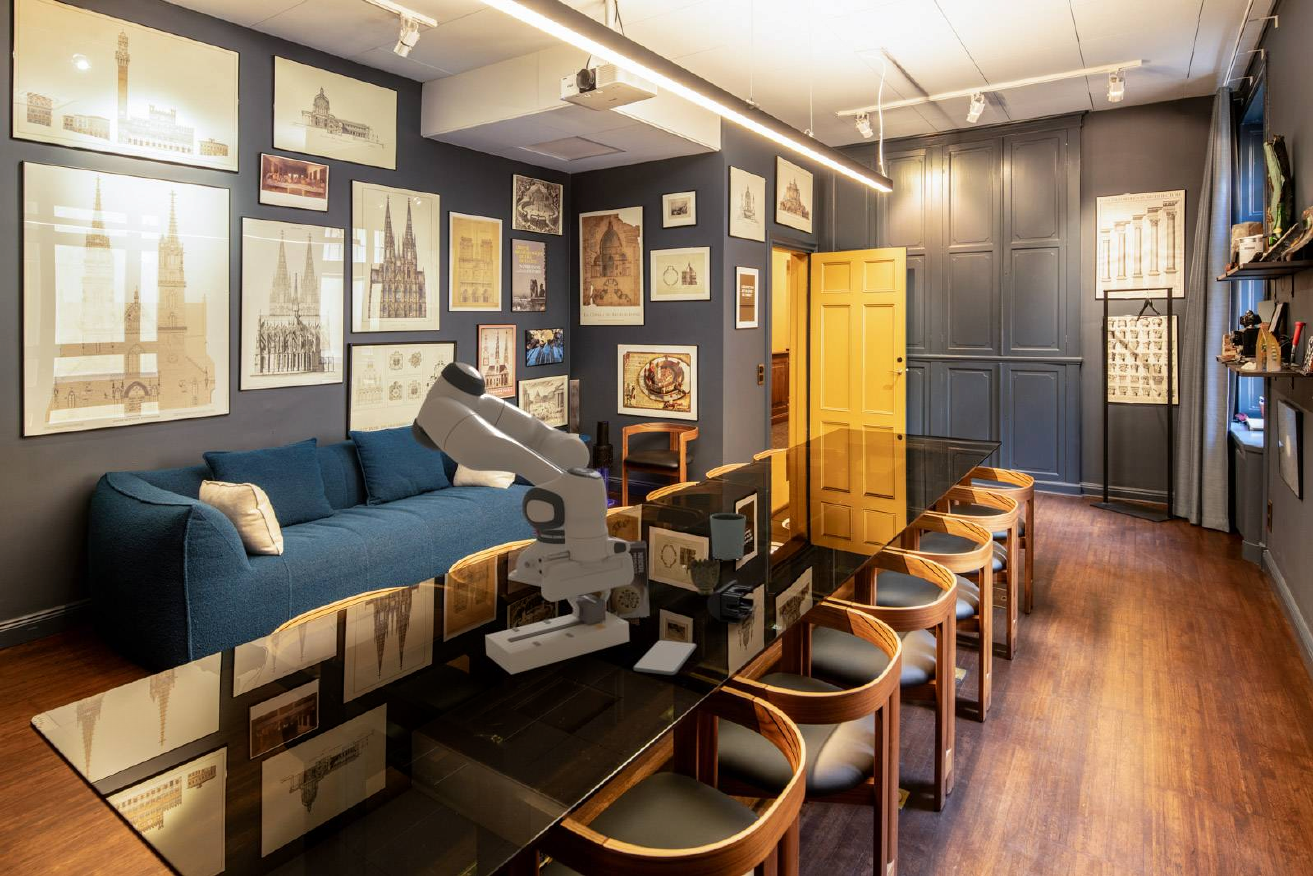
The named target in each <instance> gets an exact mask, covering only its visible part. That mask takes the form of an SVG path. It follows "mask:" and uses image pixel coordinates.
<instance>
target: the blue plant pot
mask: <svg viewBox="0 0 1313 876" xmlns="http://www.w3.org/2000/svg"><path fill="white" fill-rule="evenodd" d="M746 521H747V517H746V515H744V514H740V513H734V512H722V513H721V512H720V513H714V514H711V515H710V516H709V522H710V531H711V533H710V534H711V542H712V543H711V547H712V549H711V550H712V558H713V557H714V558H715V559H722V560H730V559H740V558H742V557H743V558H744V548H745V545H744V544H745V534H746V533H745V532H746V524H747V523H746ZM714 558H713V559H714ZM743 558H742V559H743Z"/></svg>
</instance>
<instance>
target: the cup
mask: <svg viewBox="0 0 1313 876" xmlns="http://www.w3.org/2000/svg"><path fill="white" fill-rule="evenodd" d="M689 562H690V563H688V564H689V570H690V577H691V583H692V584H693V586H694V587H695V588H697V593H698V595H699V596H703V595H708V596H711V595H712V594H713V593H714V589H713V588H715V587H716V586H717V584H718V582H719V579H720V577H719V576H720V569H721V568H720V567H721V561H719V560H715V559H714V558H713V559H710V558H708V559H707V558H703V560H702V558H699V559H698V560H697V559H696V558H694V559H693V560H689Z"/></svg>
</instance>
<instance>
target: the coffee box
mask: <svg viewBox="0 0 1313 876" xmlns="http://www.w3.org/2000/svg"><path fill="white" fill-rule="evenodd" d="M628 542H629V543H630V551H629V552H628V553H630V554H631V556H632V560H633V567H634V579H633V581H632V583H631V584H628V585H623V586H619V587H615V588H610V589H611V594H610V596H609V598H608V612H609V613H611V614H613V615H615V616H617V617H619V618H622V619H634V618H635V619H636V618H639V617H640V618H648V617H647V616H649V617H650V600H649V599H650V596H649V578H648V576H649V575H648V559H647V558H648V557H647V554H648V553H647V543H646V540H634V541H633V540H632V541H629V540H628Z"/></svg>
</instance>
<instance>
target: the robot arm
mask: <svg viewBox="0 0 1313 876" xmlns="http://www.w3.org/2000/svg"><path fill="white" fill-rule="evenodd" d="M411 426H412V427H411V433H412V437H413V439H414V440H415V441H416V442H417V443H418V444H419V445H421V447H424V448H425V449H428V450H430V451H433V452H438V453H439V452H443V453H445V454H446V455H447V456H448V457H449V458H451V459H452V460H453V461H454V462H455V463H457V464H458V465H460V466H462V467H465V468H466V469H468V470H471V471H474V472H475V471H476V472H506V473H511V474H514V475H516V476H517V475H518V476H520V477H522V478H523V479H525V480H526V481H528V482H529V483H531V484H532V485H533V487H532V488H530V489H528V490H527V492H526V493H525V494H524V496H523V500H522V504H521V506H522V507H521V508H522V510H521V511H522V515H523V517H524V519H525V521H526V523H527V524H529V526H530V527H531V528H533V530H532V531H533V533H532V535H536V534H537V535H536V539H535V540H534V541H533V542H532V543H530V545H529V546H527V547H526V548H525V549H524V550H523V551H521V552H520V553H519V555H518V557H517V560H516V569H514V570H512V571H510V573H509V574H508V577H507V580H508V581H513V582H518V583H523V584H527V585H532V586H537V587H541V589H540V591H541V592H540V594H541V596H542V598H543V599H545V600H547V601H549V603H552V602H558V601H562V600H567V601H568V603H569V605H570V606H571V607H572V613H573V615H574V616H575V617H579V616H583V607H581V606H578V605H577V603H576V601H578V597H579V596H584V595H588V594H592V593H596V592H600V593H601V594H600V597H599V598H600V599H602V600H604V601H605V609H606V610H607V602H608V601H609V596H610V594H611V589H610V588H615V587H619V586H623V585H628V584H631V583H632V581H633V579H634V567H633V560H632V556H631V554H630V553H628V552H629V551H630V543H629V541H627V540H624V539H622V538H619V537H615V536H611V535H609V528H608V525H607V515H608V498H607V497H608V496H607V489H606V488H607V487H606V485H605V484H606V483H605V480H604V477H603V475H602V474H601V473H600V472H599V471H597V470H595V469H592V468H588V465H589V462H590V452H589V451H590V450H589V449H588V447H587V445H586V443H585V442H584V441H583V440H582V439H581V438H580V437H578V436H577V435H575V434H572V433H567V432H565V431H563V430H559V429H557V428H555V426H552V425H551V424H548V423H546V422H545V421H543V420H541V418H538V417H536V416H535V415H533V414H531V413H530V412H528V411H526V410H524V409H522V408H521V407H518V406H516V405H514V404H512V403H510V402H508V401H506V400H505V399H503V398H501V397H499V396H496V395H494V394H492V393H489V392H487V390H486V382H485V377H484V376H483V375H482V374H481V373H480V372H479V370H477V369H476V368H475V367H474V366H472V365H470V364H467V363H463V362H460V361H452V362H449V363H448V364H447V365H446V366H445V367H444V368H443V369H442V370H441V371H440V375H439V376H438V378H437V379H436V380H435V382H434V383H433V384H432V386H431V388H430V389H429V390H428V392H427V393H426V397H425V399H424V401H423V403H422V405H421V407H420V409H419V411H418V414H417V416H416V417H415V418H414V420H413V423H412V425H411Z"/></svg>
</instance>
